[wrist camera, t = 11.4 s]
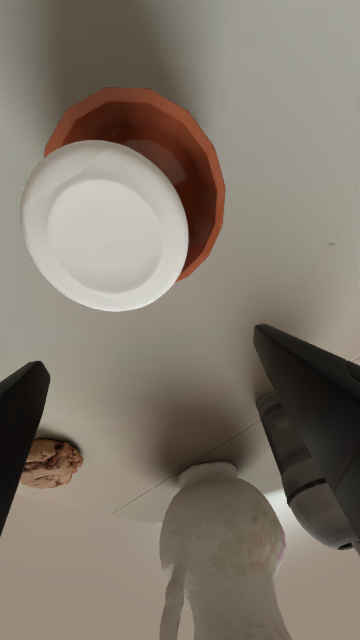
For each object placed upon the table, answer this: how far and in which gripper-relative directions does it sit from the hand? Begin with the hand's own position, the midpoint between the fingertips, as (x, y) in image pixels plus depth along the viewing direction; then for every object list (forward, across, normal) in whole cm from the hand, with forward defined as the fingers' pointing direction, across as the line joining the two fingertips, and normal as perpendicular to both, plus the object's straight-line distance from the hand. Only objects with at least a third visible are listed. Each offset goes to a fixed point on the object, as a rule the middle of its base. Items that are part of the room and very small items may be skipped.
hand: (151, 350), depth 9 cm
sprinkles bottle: (+13, 0, -5) cm, 13 cm away
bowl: (+13, 0, -5) cm, 14 cm away
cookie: (+13, +21, +27) cm, 37 cm away
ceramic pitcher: (+13, -2, +42) cm, 44 cm away
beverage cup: (+13, -14, +23) cm, 30 cm away
